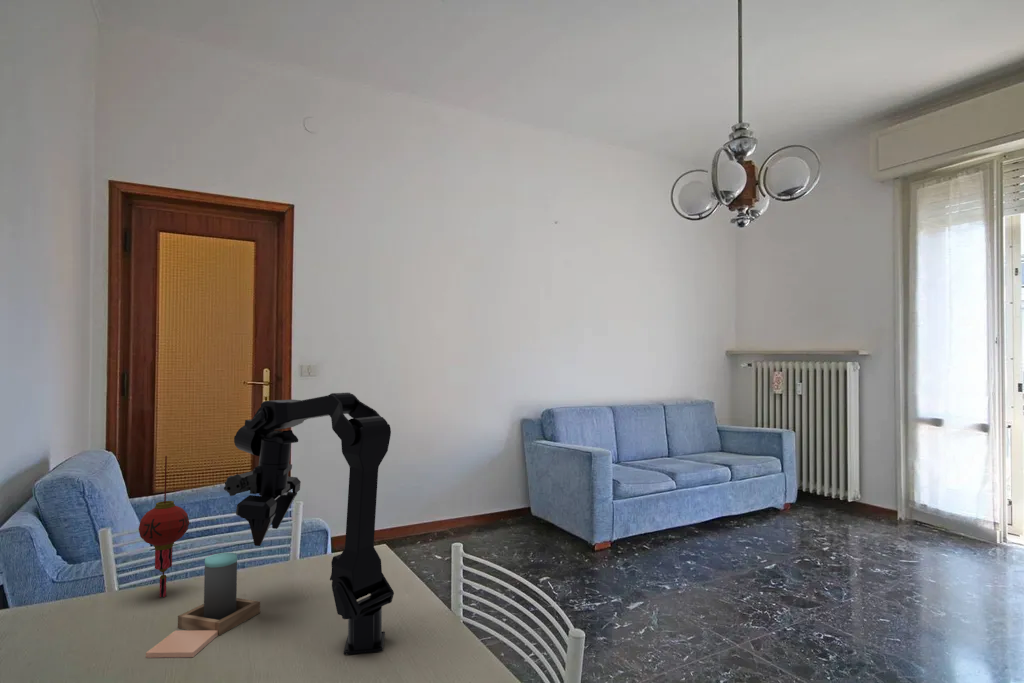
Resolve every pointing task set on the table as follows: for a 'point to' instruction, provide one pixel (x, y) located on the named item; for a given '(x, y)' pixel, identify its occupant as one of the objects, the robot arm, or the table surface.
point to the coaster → (182, 644)
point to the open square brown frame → (198, 622)
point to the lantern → (163, 532)
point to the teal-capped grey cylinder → (220, 585)
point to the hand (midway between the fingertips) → (266, 536)
